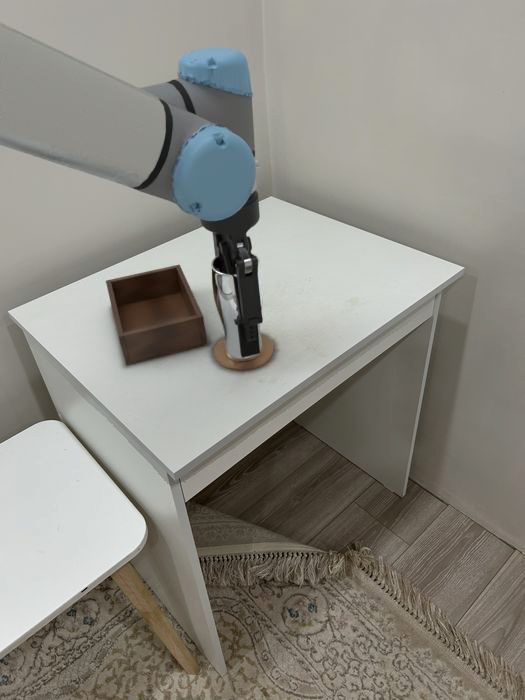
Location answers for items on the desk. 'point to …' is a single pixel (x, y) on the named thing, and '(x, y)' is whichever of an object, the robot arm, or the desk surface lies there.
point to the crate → (155, 314)
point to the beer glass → (231, 309)
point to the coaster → (243, 365)
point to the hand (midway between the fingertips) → (243, 339)
